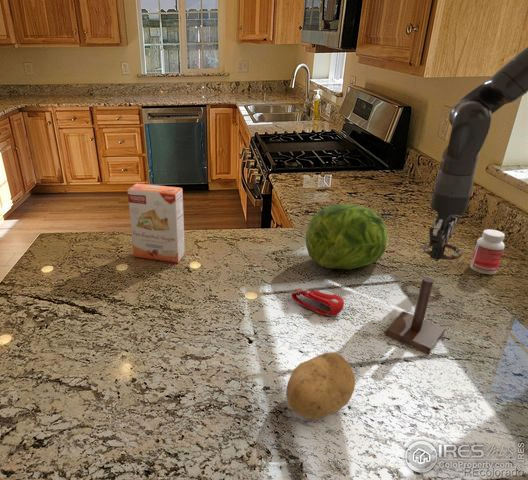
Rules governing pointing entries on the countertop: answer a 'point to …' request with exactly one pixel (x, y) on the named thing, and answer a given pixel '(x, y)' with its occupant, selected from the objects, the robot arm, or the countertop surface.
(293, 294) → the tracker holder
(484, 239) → the pill bottle
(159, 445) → the countertop surface
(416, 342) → the post
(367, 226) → the lettuce
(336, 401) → the potato
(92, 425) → the countertop surface
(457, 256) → the ring
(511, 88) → the robot arm
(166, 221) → the cracker box
